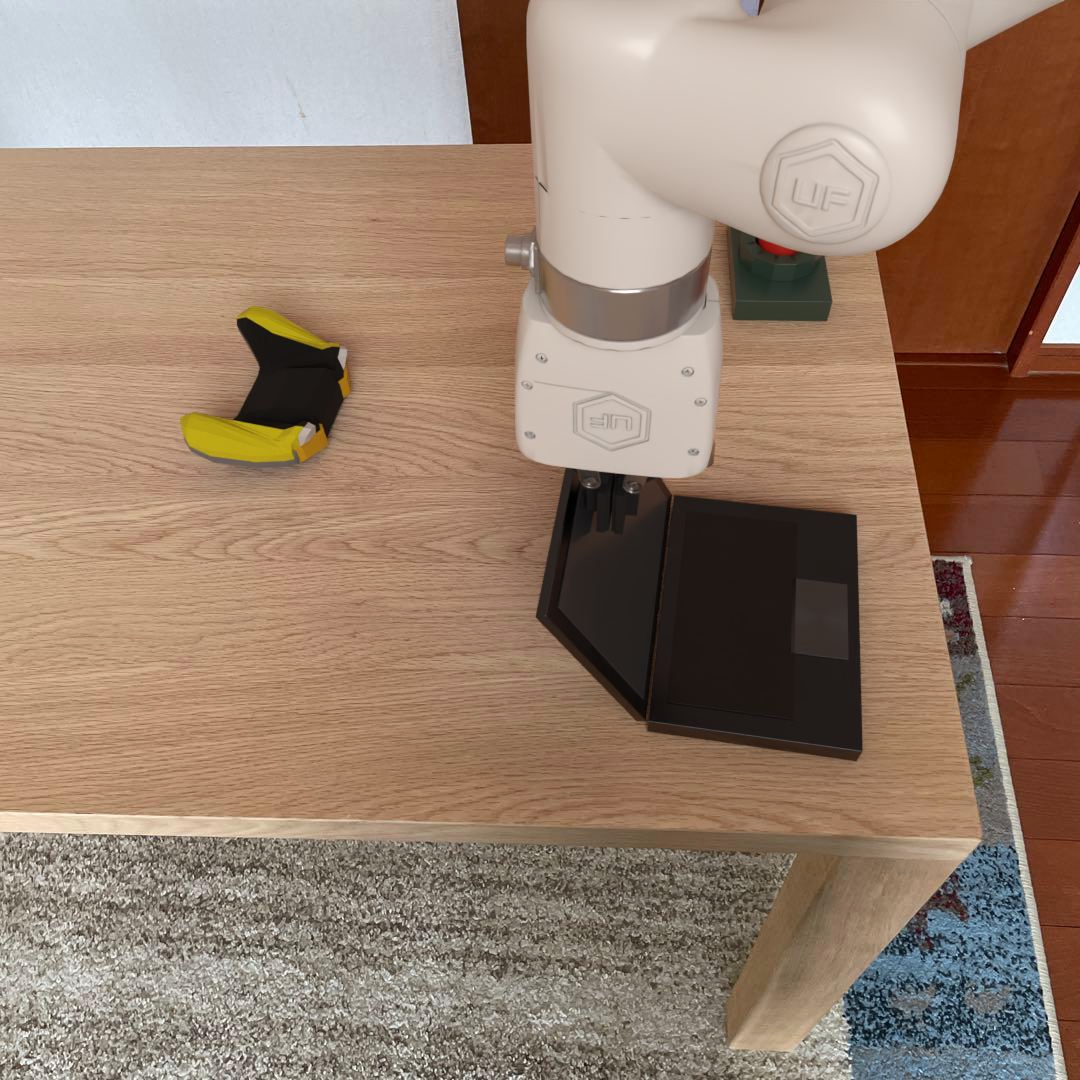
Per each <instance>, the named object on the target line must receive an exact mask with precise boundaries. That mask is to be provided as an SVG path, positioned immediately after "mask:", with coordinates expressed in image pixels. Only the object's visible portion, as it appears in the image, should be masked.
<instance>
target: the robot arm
mask: <svg viewBox="0 0 1080 1080" xmlns="http://www.w3.org/2000/svg"><path fill="white" fill-rule="evenodd" d="M1064 1H1065V0H763V3H762V6H761V8H760V11H759V14H758V15H751V14H750V13H747V12H746V11H745V10H744V9H743V6H742V1H741V0H529V1H528V6H527V12H526V59H527V60H526V61H527V80H528V98H529V99H528V101H529V119H530V120H529V121H530V137H531V157H532V174H533V177H532V178H533V195H534V197H533V198H534V212H535V213H534V215H535V216H534V217H535V225H534V226H533V228H532V231H531V232H524V233H523V235H520V234H507V235H506V239H505V243H504V263H505V265H506V266H511V267H520V268H521V270H523V271H528V272H529V273H530V278H529V280H528V283H527V285H526V287H525V288H524V291H523V294H522V297H521V301H520V307H519V312H518V319H517V328H516V337H515V351H514V380H513V381H514V383H513V384H514V434H515V441H516V446H517V448H518V450H519V452H520V453H521V454H522V455H523V456H524V457H525V458H527V459H529V460H531V461H534V462H536V463H540V464H543V465H546V466H553V467H560V468H565V467H566V468H571V469H572V470H573V471H575V472H576V473H577V474H578V476H579V480H580V483H581V485H582V486H583V487H585V488H587V511H595V512H597V528H596V532H601V533H605V531H609V526H610V520H611V514H612V523H611V531H612V532H614V534H618V535H623V531H624V524H625V518H626V515H630V516H637V513H638V505H639V497H640V493H641V492H642V491H643V490H644V487H645V484H646V483H647V482H649V481H651V480H653V479H655V478H657V477H660V478H661V479H686V478H692V477H696V476H698V475H700V474H702V473H703V472H704V471H706V470H707V468H709V467H711V466H713V464H714V462H715V451H716V441H715V435H716V430H717V429H716V428H717V420H718V414H719V404H720V393H721V384H722V373H723V357H724V338H723V337H724V336H723V316H722V306H721V299H720V292H719V287H718V285H717V282H716V281H715V278H714V277H713V276H712V275H711V273H710V266H711V259H712V251H713V243H714V238H715V237H714V236H715V230H716V229H715V228H716V222H719V223H721V224H723V225H726V226H727V225H728V226H730V227H733V228H735V229H738V230H740V231H742V232H745V233H747V234H750V235H752V236H755V237H757V238H760V239H762V240H765V241H768V242H771V243H774V244H776V245H779V246H782V247H785V248H788V249H792V250H796V251H800V252H804V253H808V254H813V255H823V256H825V257H836V258H842V257H844V258H845V257H856V256H857V257H858V256H861V255H866V254H870V253H874V252H877V251H880V250H882V249H885V248H887V247H889V246H891V245H894V244H895V243H897V242H899V241H901V240H902V239H904V238H906V237H907V235H910V233H912V231H914V230H915V229H916V228H917V227H918V226H920V225H921V224H922V222H923V221H924V220H925V219H926V217H927V216H928V215H929V214H930V213H931V212H932V210H933V208H934V207H935V205H937V202H938V201H939V199H940V198H941V196H942V193H943V192H944V189H945V187H946V185H947V182H948V181H949V176H950V173H951V170H952V165H953V162H954V158H955V152H956V147H957V139H958V132H959V122H960V121H959V120H960V109H961V102H962V92H963V88H964V87H963V86H964V76H965V68H966V67H965V66H966V58H967V51H969V50H971V49H973V48H974V47H976V46H978V45H979V44H981V43H983V42H985V41H987V40H989V39H991V38H994V37H995V36H998V35H999V34H1001V33H1002V32H1005V31H1006V30H1008V29H1010V28H1012V27H1014V26H1016V25H1018V24H1020V23H1022V22H1023V21H1026V20H1027V19H1029V18H1032V17H1033V16H1036V15H1037V14H1039V13H1041V12H1043V11H1045V10H1047V9H1049V8H1051V7H1054V6H1055V5H1058V4H1060V3H1062V2H1064ZM615 473H616V477H615Z"/></svg>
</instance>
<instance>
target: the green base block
mask: <svg viewBox="0 0 1080 1080" xmlns="http://www.w3.org/2000/svg"><path fill="white" fill-rule="evenodd" d="M726 245H727V258H728V260H727V261H728V270H729V284H730V295H731V296H730V299H731V308H732V310H731V311H732V312H731V313H732V320H733V321H762V322H763V321H764V322H765V321H767V322H768V321H773V322H774V321H775V322H828V319H829V316H830V313H831V309H832V305H833V297H832V291H831V284H830V279H829V273H828V267H827V261H826V256H823V255H813V254H808V253H804V252H799V253H797V254H794V255H775V254H772V253H769V252H767V251H764V250H763V249H762V248H761V247H760V246H759V243H758V238H757V237H755V236H752V235H750V234H747V233H745V232H742V231H740V230H738V229H735V228H733V227H730V226H728V225H726Z"/></svg>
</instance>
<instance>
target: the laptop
mask: <svg viewBox="0 0 1080 1080" xmlns="http://www.w3.org/2000/svg"><path fill="white" fill-rule="evenodd" d="M858 545H859V544H858V515H857V514H854V513H845V512H835V511H827V510H826V511H825V510H817V509H809V508H808V509H807V508H800V507H790V506H789V507H788V506H779V505H771V504H761V503H752V502H742V501H736V500H735V501H733V500H725V499H716V498H707V497H696V496H689V495H681V494H680V495H679V494H674V495H673V497H672V505H671V514H670V522H669V531H668V540H667V549H666V551H667V552H666V558H665V566H664V568H665V569H664V575H663V584H662V593H661V595H662V596H661V601H660V602H661V603H660V604H661V605H660V610H659V619H658V621H659V622H658V628H657V629H658V630H657V636H656V645H655V654H654V656H655V657H654V663H653V664H654V665H653V672H652V680H651V682H652V683H651V689H650V690H651V691H650V698H649V699H650V700H649V707H648V708H649V709H648V715H647V717H648V718H647V726H646V732H649V733H656V734H662V735H668V736H669V735H670V736H677V737H684V738H691V739H697V740H703V741H704V740H705V741H711V742H719V743H726V744H733V745H738V746H739V745H740V746H746V747H754V748H761V749H767V750H775V751H780V752H781V751H782V752H787V753H794V754H795V753H796V754H803V755H809V756H810V755H811V756H815V757H824V758H829V759H837V760H845V761H851V762H857V761H858V760H859V758H860V757H861V755H862V753H863V752H864V749H863V748H864V746H863V705H862V704H863V701H862V665H861V664H862V663H861V629H860V628H861V626H860V624H861V623H860V588H859V587H860V586H859V550H858V549H859V546H858Z"/></svg>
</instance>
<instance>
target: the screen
mask: <svg viewBox="0 0 1080 1080" xmlns="http://www.w3.org/2000/svg"><path fill="white" fill-rule="evenodd" d="M615 477H616V473H615ZM672 502H673V494H672V492H671V491H670V489H669V488H668V486H667V485H666V483H665V482H664V480H663V478H660V477H657V478H655V479H653V480H651V481H649V482H647V483H646V484H645V487H644V490H643V491H642V492H641V493H640V497H639V505H638V513H637V516H630V515H626V518H625V524H624V531H623V535H618V534H614V532H612V531H611V523H612V514H611V520H610V526H609V531H605V533H601V532H596V528H597V512H595V511H587V488H585V487H583V486H582V485H581V483H580V480H579V476H578V474H577V473H576V472H575V471H573V470H572V469H571V468H566V467H564V473H563V477H562V483H561V488H560V493H559V496H558V503H557V508H556V513H555V518H554V522H553V527H552V533H551V537H550V543H549V547H548V551H547V552H548V553H547V558H546V562H545V566H544V567H545V568H544V572H543V577H542V582H541V587H540V593H539V597H538V601H537V607H536V613H535V619H536V620H537V621H538V622H539V623H540V624H541V625H542V626H543V627H544V628H545V629H546V630H547V631H548V632H549V633H550V634H551V635H552V637H554V639H556V640H557V641H558V642H559V644H560V645H561V646H562V647H563V648H564V649H565V650H566V651H568V653H569V654H570V655H571V656H572V657H573V658H574V659H575V660H576V661H577V662H578V663H579V664H580V665H581V666H582V667H583V668H584V669H585V670H586V671H587V673H588V674H590V675H591V677H593V679H594V680H595V681H596V682H598V683H599V685H600V686H602V688H603V689H604V690H605V691H606V692H607V693H608V694H609V695H610V696H611V697H612V698H613V699H614V700H615V701H616V702H617V704H619V705H620V706H621V708H623V709H624V711H626V713H627V714H628V715H630V717H632V718H633V720H634V721H636V722H637V723H639V722H646V721H647V719H648V718H647V717H648V710H649V709H648V708H649V701H650V700H649V699H650V693H651V691H650V690H651V684H652V683H651V682H652V675H653V666H654V665H653V664H654V658H655V657H654V656H655V649H656V640H657V632H658V630H657V629H658V623H659V622H658V621H659V614H660V606H661V605H660V604H661V603H660V602H661V597H662V596H661V595H662V588H663V580H664V571H665V569H664V568H665V562H666V554H667V552H666V551H667V545H668V536H669V528H670V519H671V510H672Z"/></svg>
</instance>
